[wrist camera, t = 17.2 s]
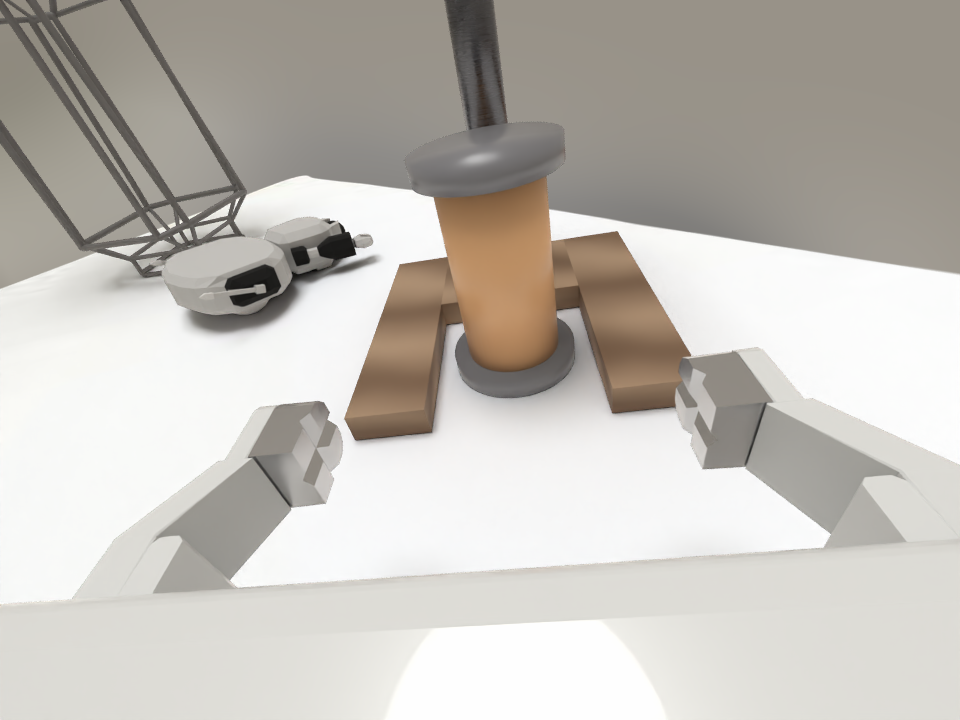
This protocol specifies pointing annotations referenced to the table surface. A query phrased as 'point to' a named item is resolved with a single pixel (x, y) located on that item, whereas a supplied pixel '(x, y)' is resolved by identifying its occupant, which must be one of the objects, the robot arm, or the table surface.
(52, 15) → the geometric lantern
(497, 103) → the hook stand
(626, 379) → the notched board
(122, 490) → the table surface
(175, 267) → the robot toy
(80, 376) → the table surface
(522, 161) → the cord spool
